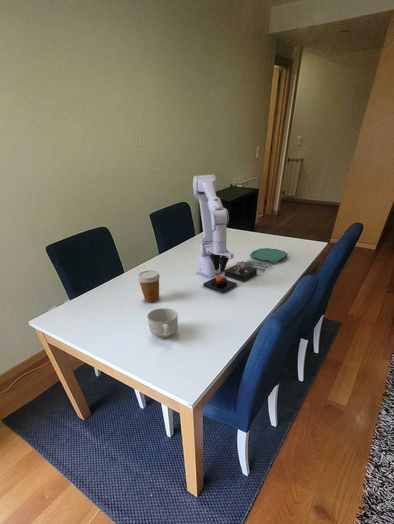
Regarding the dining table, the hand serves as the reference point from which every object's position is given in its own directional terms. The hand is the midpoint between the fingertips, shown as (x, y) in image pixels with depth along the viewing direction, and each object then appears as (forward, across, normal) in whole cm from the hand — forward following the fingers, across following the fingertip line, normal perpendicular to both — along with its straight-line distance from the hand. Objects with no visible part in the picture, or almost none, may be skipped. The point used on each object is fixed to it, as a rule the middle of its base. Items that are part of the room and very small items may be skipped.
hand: (219, 270), depth 134 cm
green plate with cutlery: (+8, +4, -40) cm, 41 cm away
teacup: (+8, -13, +43) cm, 46 cm away
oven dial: (+5, +1, -16) cm, 17 cm away
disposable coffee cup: (+8, +14, +30) cm, 34 cm away
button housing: (+8, 0, 0) cm, 8 cm away
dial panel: (+8, +1, -16) cm, 18 cm away
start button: (+4, 0, 0) cm, 4 cm away
